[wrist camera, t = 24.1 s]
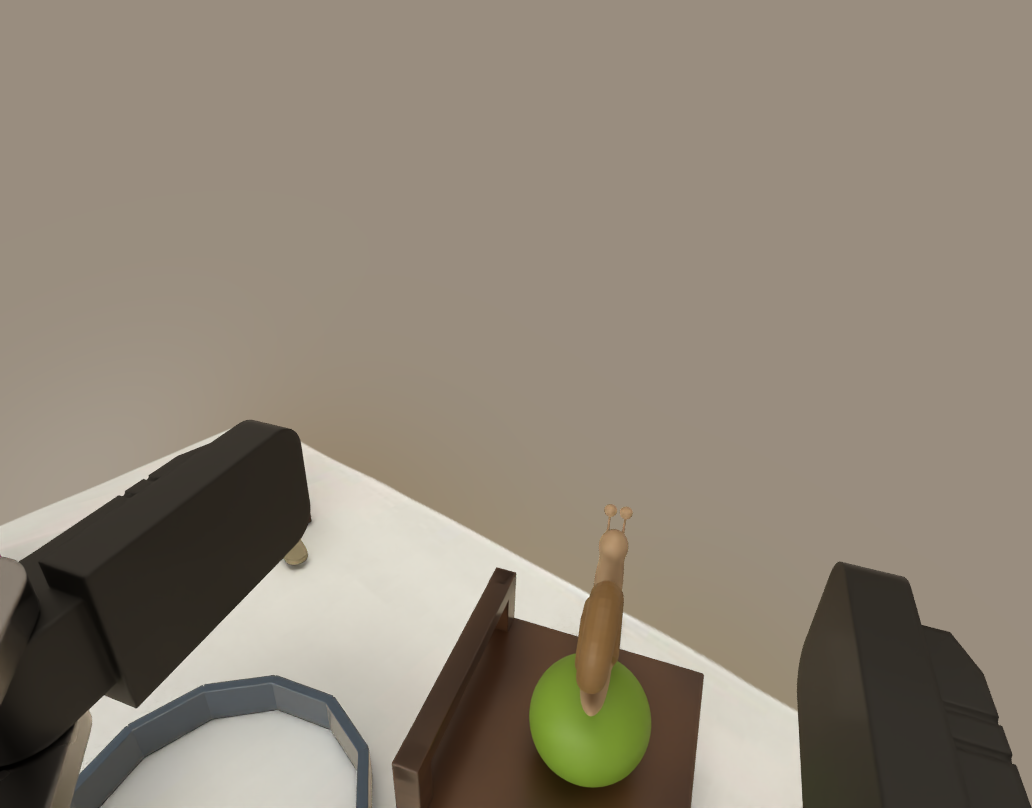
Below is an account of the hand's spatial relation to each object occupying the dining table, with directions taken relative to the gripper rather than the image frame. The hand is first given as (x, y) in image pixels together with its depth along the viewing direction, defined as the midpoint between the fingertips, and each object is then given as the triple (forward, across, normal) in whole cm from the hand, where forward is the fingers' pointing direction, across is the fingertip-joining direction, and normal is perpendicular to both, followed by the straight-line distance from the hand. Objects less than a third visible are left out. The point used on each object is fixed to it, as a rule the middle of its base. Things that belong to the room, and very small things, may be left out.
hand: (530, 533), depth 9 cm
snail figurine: (+12, 0, +23) cm, 26 cm away
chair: (+12, +1, +30) cm, 32 cm away
